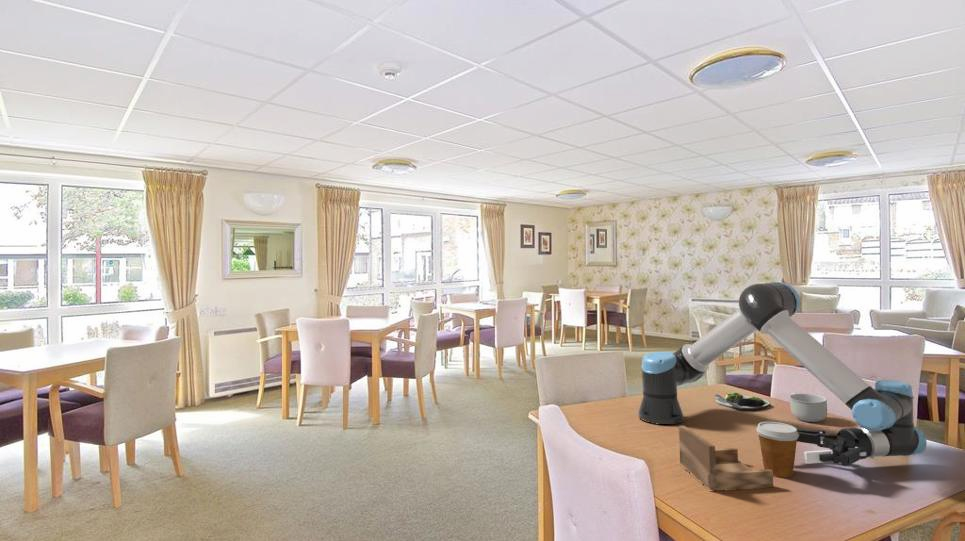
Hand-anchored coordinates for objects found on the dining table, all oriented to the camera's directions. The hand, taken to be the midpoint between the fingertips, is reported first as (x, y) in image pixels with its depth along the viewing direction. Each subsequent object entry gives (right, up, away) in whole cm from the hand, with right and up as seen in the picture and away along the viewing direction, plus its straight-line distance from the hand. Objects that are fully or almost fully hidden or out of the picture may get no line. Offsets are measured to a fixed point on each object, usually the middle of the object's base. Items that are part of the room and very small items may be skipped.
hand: (785, 447), depth 121 cm
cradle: (-16, -7, -1) cm, 18 cm away
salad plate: (+23, -7, +60) cm, 64 cm away
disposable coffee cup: (-1, -7, 0) cm, 7 cm away
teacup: (+35, -6, +42) cm, 55 cm away
